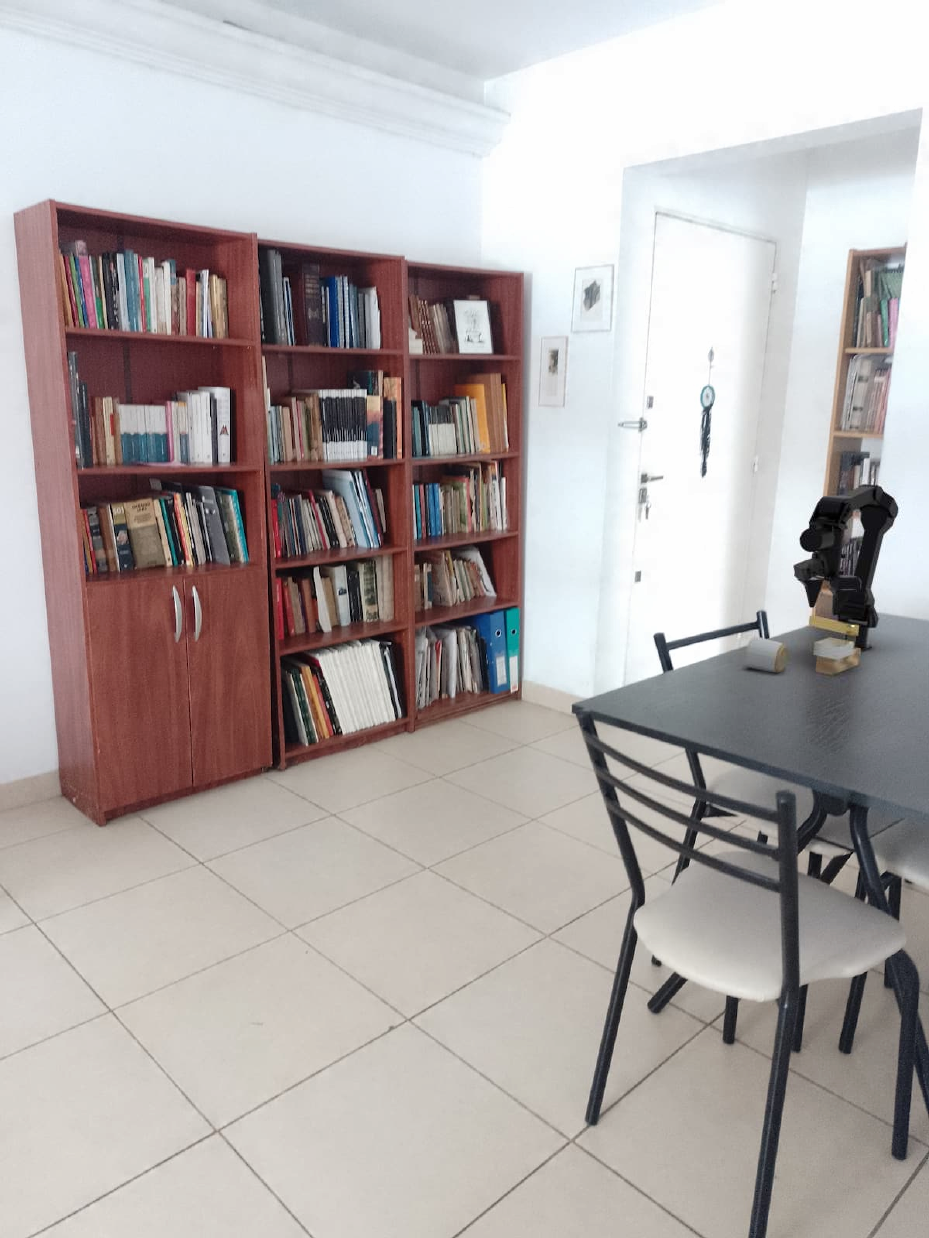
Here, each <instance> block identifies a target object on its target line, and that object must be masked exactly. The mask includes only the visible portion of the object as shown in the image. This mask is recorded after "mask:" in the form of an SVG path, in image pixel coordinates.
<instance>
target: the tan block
mask: <svg viewBox="0 0 929 1238" xmlns="http://www.w3.org/2000/svg"><path fill="white" fill-rule="evenodd" d="M855 640H856V636H850V635H847V641H852V642H854V646H853V654H851V655H849V656H846V657H844V658H841V659H839V660H836V659H832V658H827V657H822V656H817V655H816V665H815V673H819V674H823V675H824V674H825V675H828V674H829V676H834V675H836V674H838V673H842V672H843V671H846V670H848V669H851V668H853V667H855V666H858V665H860V658H861V652H862V651H861V648H856V647H855ZM833 674H834V675H833Z"/></svg>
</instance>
